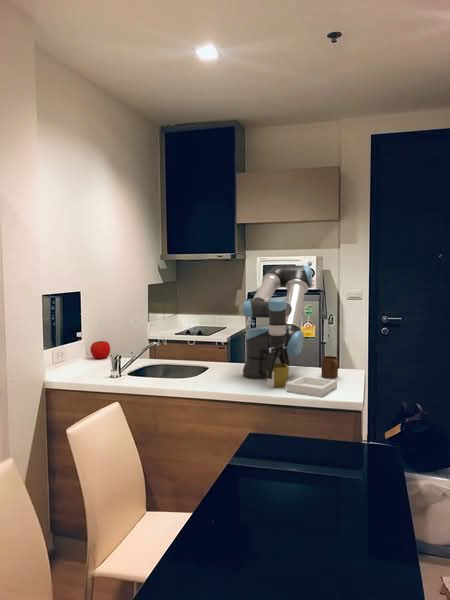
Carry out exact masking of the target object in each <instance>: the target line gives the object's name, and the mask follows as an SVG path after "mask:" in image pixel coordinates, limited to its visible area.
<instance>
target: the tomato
mask: <svg viewBox="0 0 450 600" xmlns="http://www.w3.org/2000/svg"><path fill="white" fill-rule="evenodd" d="M89 350H90V353H91V355H92V357H93V358H94V359H99V360H102V359H106V358H107V357H109V355H110V352H111V345H110V343H109V342H108V341H107V340H106V341H105V340H102V341H101V340H99V341H95V342H92V344H91V345H90V349H89Z"/></svg>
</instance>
